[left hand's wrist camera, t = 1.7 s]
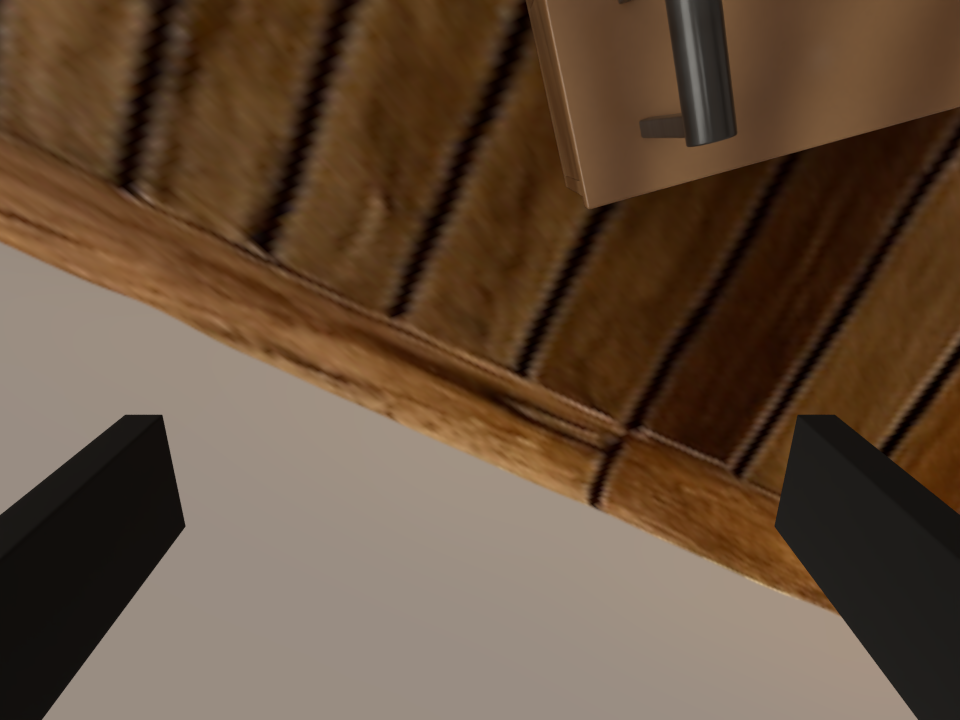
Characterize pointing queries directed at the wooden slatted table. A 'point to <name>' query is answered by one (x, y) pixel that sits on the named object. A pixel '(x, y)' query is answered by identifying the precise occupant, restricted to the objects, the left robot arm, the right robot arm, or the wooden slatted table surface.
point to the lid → (739, 81)
